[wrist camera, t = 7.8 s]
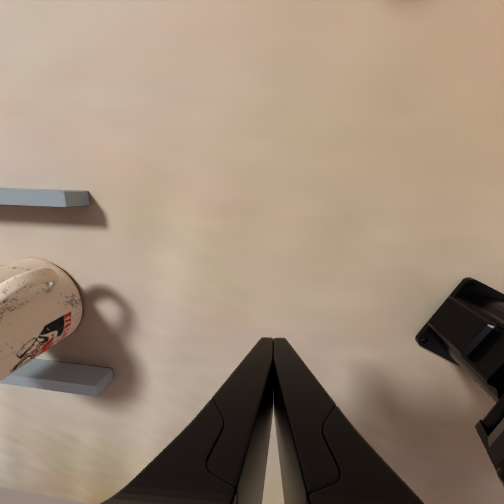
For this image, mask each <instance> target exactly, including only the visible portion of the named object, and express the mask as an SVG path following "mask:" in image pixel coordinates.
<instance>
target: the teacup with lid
mask: <svg viewBox="0 0 504 504" xmlns="http://www.w3.org/2000/svg"><path fill="white" fill-rule="evenodd" d="M81 317H82V300H81V297H80V294H79V291H78V289H77V287H76V285H75V284H74V282H73V281H72V280H71V278H70V277H69V276H68V275H67V274H66V273H65V272H64V271H63V270H61V269H60V268H59V267H57V266H55V265H54V264H52V263H50V262H47V261H44V260H41V259H34V258H27V259H21V260H17V261H13V262H10V263H6V264H2V265H0V381H2V380H3V379H5V378H6V377H8V376H9V375H10V374H12V373H13V372H15V371H16V370H18V369H19V368H21V367H22V366H24V365H25V364H27V363H28V362H30V361H31V360H33V359H34V358H36V357H37V356H39V355H40V354H42V353H43V352H45V351H46V350H48V349H49V348H50V347H52V346H53V345H55V344H56V343H58V342H59V341H61V340H62V339H64V338H65V337H67V336H68V335H70V334H71V333H72V332H73V331H74V330H75V329H76V328H77V326H78V325H79V323H80V321H81Z"/></svg>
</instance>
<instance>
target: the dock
mask: <svg viewBox="0 0 504 504" xmlns="http://www.w3.org/2000/svg"><path fill="white" fill-rule="evenodd" d="M0 204H4V205H28V206H52V207H74V206H86V205H90V202H89V194H88V191H72V190H42V189H11V188H0ZM113 378H114V377H113V370H112V368H104V367H96V366H87V365H79V364H71V363H63V362H55V361H47V360H39V359H33V360H31V361H30V362H28V363H27V364H25V365H24V366H22V367H21V368H19V369H18V370H16V371H15V372H13V373H12V374H10V375H9V376H8V377H6V378H5V379H3V380H2V381H0V383H3V384H10V385H17V386H24V387H31V388H38V389H45V390H52V391H60V392H67V393H74V394H81V395H88V396H95V397H97V396H98V395H99V394H100V393H101V392H102V390H103V389H104V388H105V387H106V386H107V385H108V384H109V383H110V382H111V381H112V379H113Z"/></svg>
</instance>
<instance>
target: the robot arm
mask: <svg viewBox="0 0 504 504" xmlns="http://www.w3.org/2000/svg"><path fill="white" fill-rule="evenodd" d="M469 283H472V284H471V285H470V286H469V287H468V284H469ZM423 338H425V340H423V341H421V340H422V339H423ZM415 339H416V341H417V342H418V344H419V345H421V346H423V347H425V348H426V349H428V350H430V351H432V352H434V353H436V354H438V355H440V356H442V357H444V358H446V359H448V360H450V361H451V362H453V363H455V364H457V365H459V366H461V367H462V368H463V369H464V370H465V371H466V372H467V373H468V374H469V375H470V376H471V377H472V378H473V379H474V380H475V381H476V382H477V383H478V384H479V385H480V386H481V387H482V388H483V389H484V390H485V391H486V392H487V393H488V394H489V395H490V396H491V397H492V398H493V399H494V400H495V401H496V402H497V403H496V404H495V405H494V407H493V408H492V409H491V410H490V412H489V413H488V414H487V415H486V417H485V418H484V419H483V420H479V422H478V423H477V424H476V425H475V428H476V430H477V432H478V434H479V436H480V438H481V440H482V442H483V444H484V446H485V448H486V450H487V453H488V455H489V457H490V459H491V461H492V463H493V465H494V467H495V469H496V471H497V474H498V477H499V479H500V481H501V482H502V484H503V485H504V294H502V293H500V292H498V291H496V290H494V289H492V288H491V287H489V286H487V285H485V284H483V283H481V282H479V281H477V280H475V279H473V278H465V279H463V280H462V281H461V282H460V284H459V285H458V286H457V287H456V288H455V290H454V291H453V292H452V293H451V294H450V296H449V297H448V298H447V299H446V300H445V302H444V303H443V304H442V305H441V306H440V308H439V309H438V310H437V311H436V312H435V314H434V315H433V316H432V317H431V318H430V320H429V321H428V322H427V323H426V324H425V326H424V327H423V328H422V329H421V330H420V332H419V333H418V334H417V335H416V338H415ZM273 391H274V416H275V425H276V433H277V442H278V451H279V459H280V468H281V477H282V485H283V494H284V503H285V504H424V503H423V502H422V501H421V500H420V498H419V497H418V496H417V495H416V494H415V493H414V492H413V491H412V490H411V489H410V488H409V487H408V486H407V485H406V484H405V482H404V481H403V480H402V479H401V478H400V477H399V476H398V475H397V474H396V473H395V472H394V471H393V470H392V469H391V468H390V466H389V465H388V464H387V463H386V462H385V461H384V460H383V459H382V458H381V457H380V456H379V455H378V454H377V453H376V452H375V450H374V449H373V448H372V447H371V446H370V445H369V444H368V443H367V442H366V440H365V439H364V438H363V437H362V436H361V435H360V434H359V433H358V431H357V430H356V429H355V428H354V426H353V425H352V424H351V423H350V422H349V420H348V419H347V418H346V417H345V415H344V414H343V413H342V411H341V410H340V409H339V407H338V406H336V404H335V402H334V401H333V400H332V398H331V397H330V396H329V395H328V393H327V392H326V391H325V389H324V388H323V387H322V385H321V384H320V383H319V382H318V380H317V379H316V378H315V376H314V375H313V374H312V372H311V371H310V370H309V368H308V367H307V366H306V365H305V363H304V362H303V361H302V359H301V358H300V357H299V355H298V354H297V353H296V352H295V350H294V349H293V348H292V346H291V345H290V344H289V342H288V341H287V340H286V339H285V338H274V340H273V338H266V337H262V338H261V339H260V340H259V341H258V342H257V344H256V345H255V346H254V347H253V349H252V350H251V351H250V352H249V353H248V355H247V356H246V357H245V358H244V359H243V361H242V362H241V363H240V364H239V366H238V367H237V368H236V369H235V370H234V372H233V373H232V374H231V375H230V377H229V378H228V379H227V380H226V381H225V383H224V384H223V385H222V386H221V387H220V389H219V390H218V391H217V392H216V394H215V395H214V396H213V397H212V399H211V400H210V401H209V402H208V403H207V404H206V405H205V407H204V408H203V409H202V410H201V411H200V413H199V414H198V415H197V416H196V417H195V418H194V419H193V421H192V422H191V423H190V424H189V425H188V426H187V427H186V428H185V429H184V430H183V431H182V432H181V433H180V434H179V435H178V436H177V437H176V438H175V439H174V440H173V441H172V442H171V443H170V444H169V445H168V446H167V447H166V448H165V449H164V450H163V451H162V452H161V453H160V454H159V455H158V456H157V457H156V458H155V459H154V460H153V461H152V462H150V463H149V464H148V465H147V466H146V467H145V468H144V469H143V470H142V471H141V472H140V473H139V474H138V475H137V476H136V477H135V478H134V479H133V480H132V481H131V482H130V483H129V484H128V485H126V486H125V487H124V488H123V489H121V490H120V491H119V492H118V493H116V494H115V495H113V496H112V497H111V498H109V499H107V500H106V501H104V502H102V503H100V504H262V498H263V489H264V481H265V473H266V465H267V456H268V448H269V440H270V432H271V423H272V415H273Z"/></svg>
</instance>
